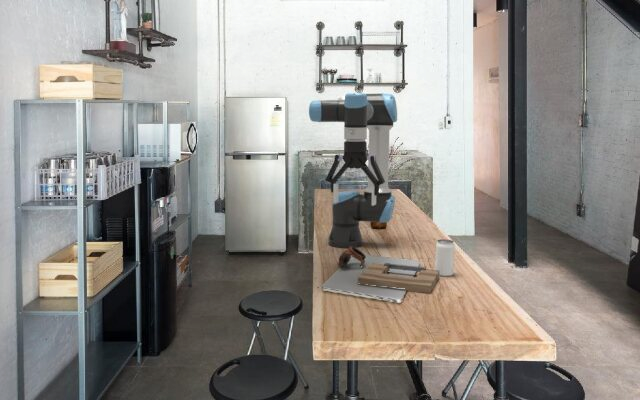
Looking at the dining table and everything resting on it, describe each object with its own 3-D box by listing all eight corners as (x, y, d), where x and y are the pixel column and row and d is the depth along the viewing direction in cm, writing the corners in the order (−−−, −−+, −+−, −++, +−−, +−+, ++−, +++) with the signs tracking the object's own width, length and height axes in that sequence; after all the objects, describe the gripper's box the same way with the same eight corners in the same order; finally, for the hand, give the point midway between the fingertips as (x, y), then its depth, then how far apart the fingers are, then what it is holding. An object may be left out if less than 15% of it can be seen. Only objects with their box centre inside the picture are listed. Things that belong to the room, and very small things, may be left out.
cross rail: (385, 271, 192) (385, 262, 191) (426, 275, 186) (426, 267, 186) (383, 272, 190) (384, 264, 189) (425, 277, 185) (425, 268, 184)
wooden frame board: (372, 270, 193) (372, 263, 193) (439, 277, 184) (439, 270, 184) (357, 284, 176) (358, 277, 176) (430, 293, 168) (430, 285, 167)
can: (441, 270, 193) (442, 238, 191) (457, 273, 189) (458, 241, 187) (431, 273, 189) (432, 241, 187) (447, 277, 184) (448, 244, 182)
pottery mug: (343, 262, 205) (354, 245, 203) (360, 277, 200) (372, 259, 199) (327, 261, 194) (339, 243, 193) (346, 277, 190) (358, 258, 188)
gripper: (316, 140, 177) (316, 202, 180) (388, 141, 167) (387, 207, 171) (324, 139, 184) (324, 199, 187) (394, 140, 174) (393, 204, 178)
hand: (354, 203), depth 179 cm, fingers open, 13 cm apart
